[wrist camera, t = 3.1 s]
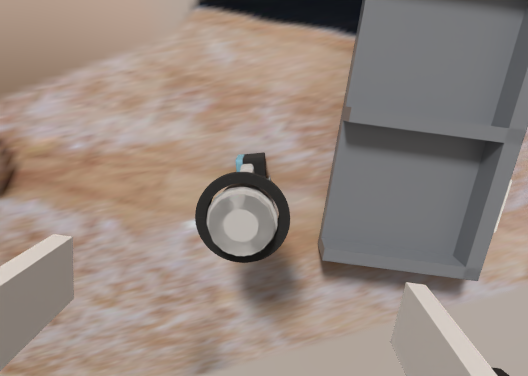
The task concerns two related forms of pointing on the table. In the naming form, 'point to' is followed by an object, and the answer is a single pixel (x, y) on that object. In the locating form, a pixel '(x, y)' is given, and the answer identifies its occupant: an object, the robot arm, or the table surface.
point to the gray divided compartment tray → (428, 135)
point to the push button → (243, 213)
